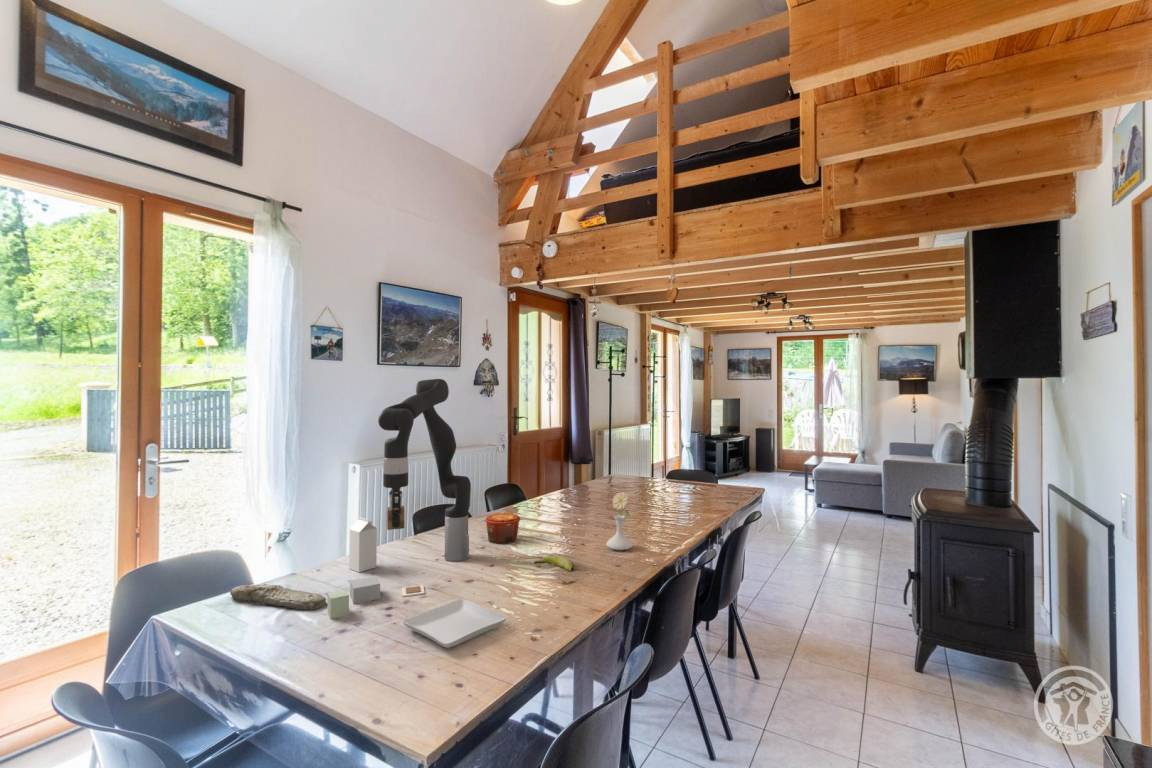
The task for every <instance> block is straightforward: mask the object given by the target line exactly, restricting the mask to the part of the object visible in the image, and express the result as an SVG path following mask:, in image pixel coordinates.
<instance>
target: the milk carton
mask: <svg viewBox="0 0 1152 768" xmlns="http://www.w3.org/2000/svg"><path fill="white" fill-rule="evenodd" d="M357 518H358V519H357V520H356V521H355V523H353V524H352V526H350V528H349V547H348V548H349V551H348V553H349V554H348V558H349V560H348V562H349V563H348V568H349V570H352V571H355V572H357V573H361V572H364V571H368V570H371V569H375V568H377V552H378V551H377V549H378V548H377V544H378V543H377V542H378V540H377V539H378V538H377V537H378V534H377V533H378V528H377V527H376V526H374V525H373V522H372V520H369V519H368V518H366V517H360V516H358V517H357Z"/></svg>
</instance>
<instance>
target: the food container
mask: <svg viewBox="0 0 1152 768" xmlns="http://www.w3.org/2000/svg"><path fill="white" fill-rule="evenodd" d="M484 521H485V523H486V531H487V540H488V542H489V543H492V544H495V543H496V545H505V544H506V543H508V544H512V543H515V542H516V540H517V539H518V531H519V525H520V521H521V517H520V516H519V515H518V514H516V513H511V512H504V513H501V512H499V513H493V514H490V515H487V516H486V518H485V520H484ZM514 541H515V542H514ZM511 542H512V543H511Z"/></svg>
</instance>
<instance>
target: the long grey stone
mask: <svg viewBox="0 0 1152 768" xmlns="http://www.w3.org/2000/svg"><path fill="white" fill-rule="evenodd" d="M229 591H230V596H231V598H232V599H236V600H237V601H240V602H245V603H247V604H249V605H250V604H253V605H256V604H257V605H258V604H259V605H265V606H266V605H273V606H276V607H285V608H290V609H294V608H295V609H296V610H316V609H320V608H323V607H324V606H325V605H326V603H327V602H326V600H327V599H326V597H325V596H324V595H322V594H320V593H317V592H316V593H315V592H311V591H310V592H308V591H303V590H296V589H295V590H294V589H291V588H288V587H284V586H281V585H279V584H276V585H275V584H266V583H264V584H242V585H238V586H235V587H234V586H233V588H231V589H230V590H229ZM295 609H294V610H295Z"/></svg>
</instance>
